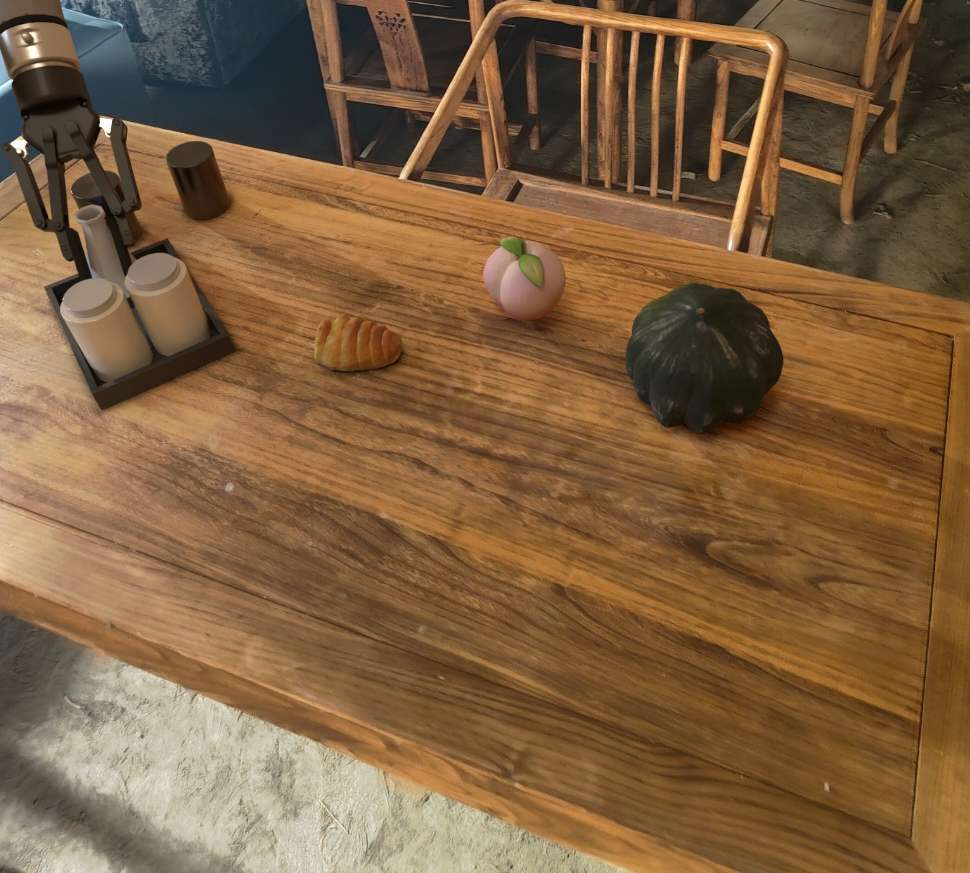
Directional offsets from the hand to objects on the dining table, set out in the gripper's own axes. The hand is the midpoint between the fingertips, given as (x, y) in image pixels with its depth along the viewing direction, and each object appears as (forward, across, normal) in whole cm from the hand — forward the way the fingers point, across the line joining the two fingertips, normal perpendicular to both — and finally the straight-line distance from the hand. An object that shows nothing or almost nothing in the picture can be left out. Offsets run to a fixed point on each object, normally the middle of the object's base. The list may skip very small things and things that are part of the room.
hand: (109, 281), depth 105 cm
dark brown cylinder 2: (-10, +11, +19) cm, 24 cm away
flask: (0, 0, +5) cm, 5 cm away
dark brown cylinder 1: (-8, 0, +17) cm, 19 cm away
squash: (+29, +56, -20) cm, 66 cm away
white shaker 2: (+8, +6, 0) cm, 10 cm away
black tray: (+5, +1, +4) cm, 7 cm away
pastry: (+15, +24, -6) cm, 29 cm away
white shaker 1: (+9, -1, -1) cm, 9 cm away
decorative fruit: (+16, +44, -7) cm, 47 cm away
